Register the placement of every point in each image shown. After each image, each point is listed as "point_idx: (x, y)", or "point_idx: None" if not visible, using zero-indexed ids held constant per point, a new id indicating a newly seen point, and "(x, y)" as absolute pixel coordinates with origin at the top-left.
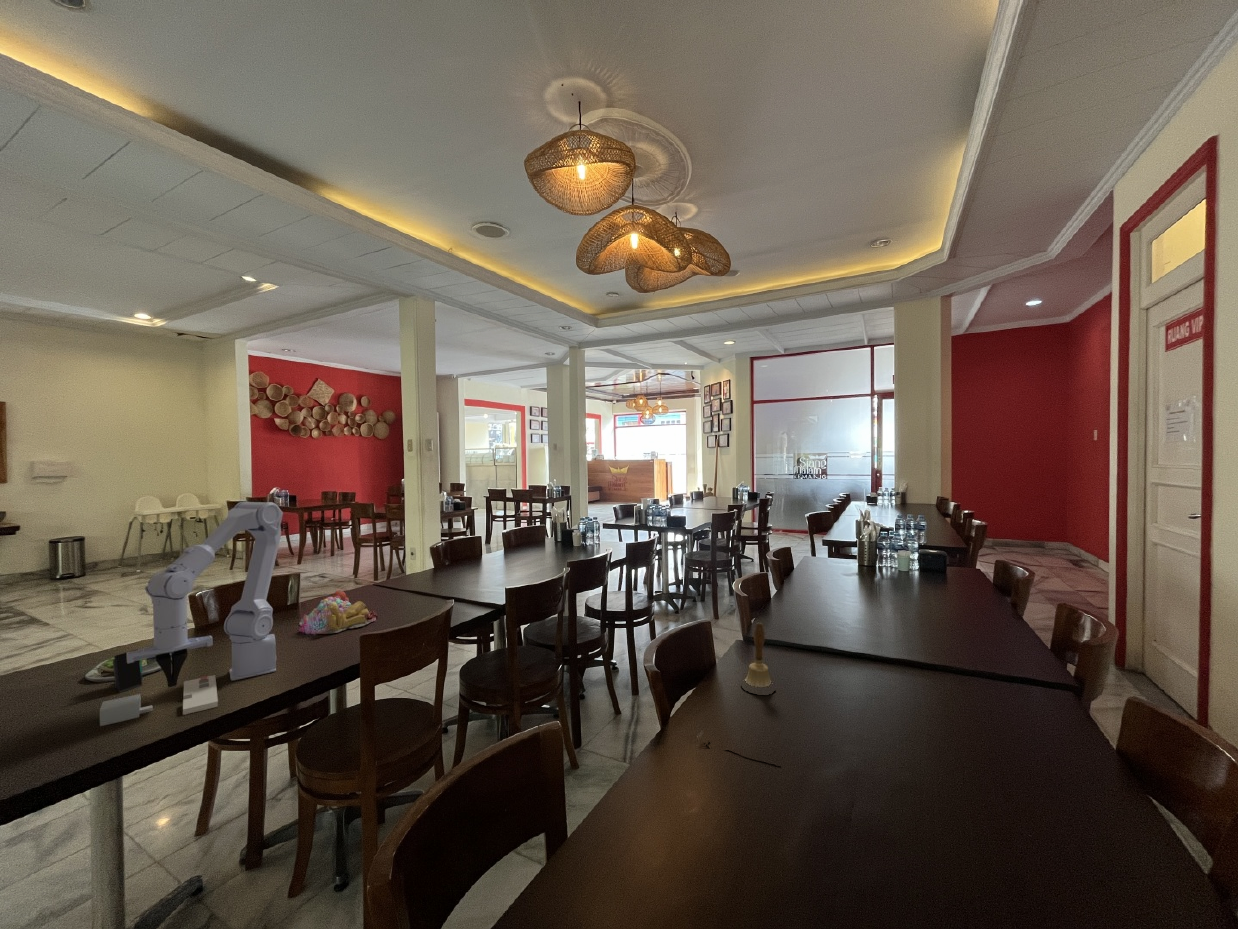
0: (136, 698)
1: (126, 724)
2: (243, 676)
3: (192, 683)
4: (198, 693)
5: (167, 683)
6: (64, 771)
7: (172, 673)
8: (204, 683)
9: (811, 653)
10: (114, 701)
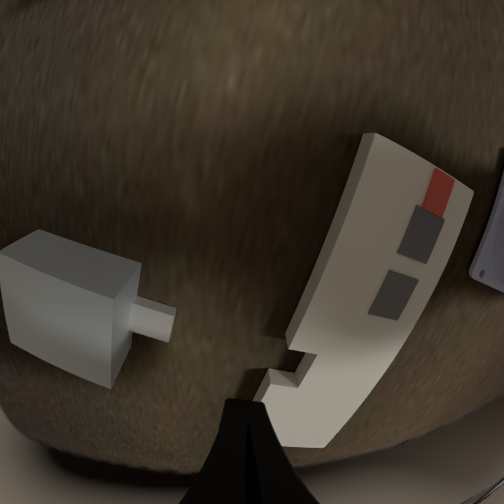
0: (99, 348)
1: None
2: (491, 285)
3: (386, 213)
4: (333, 368)
5: (224, 405)
6: (49, 438)
7: (246, 469)
8: (409, 268)
9: (492, 488)
10: (28, 297)
